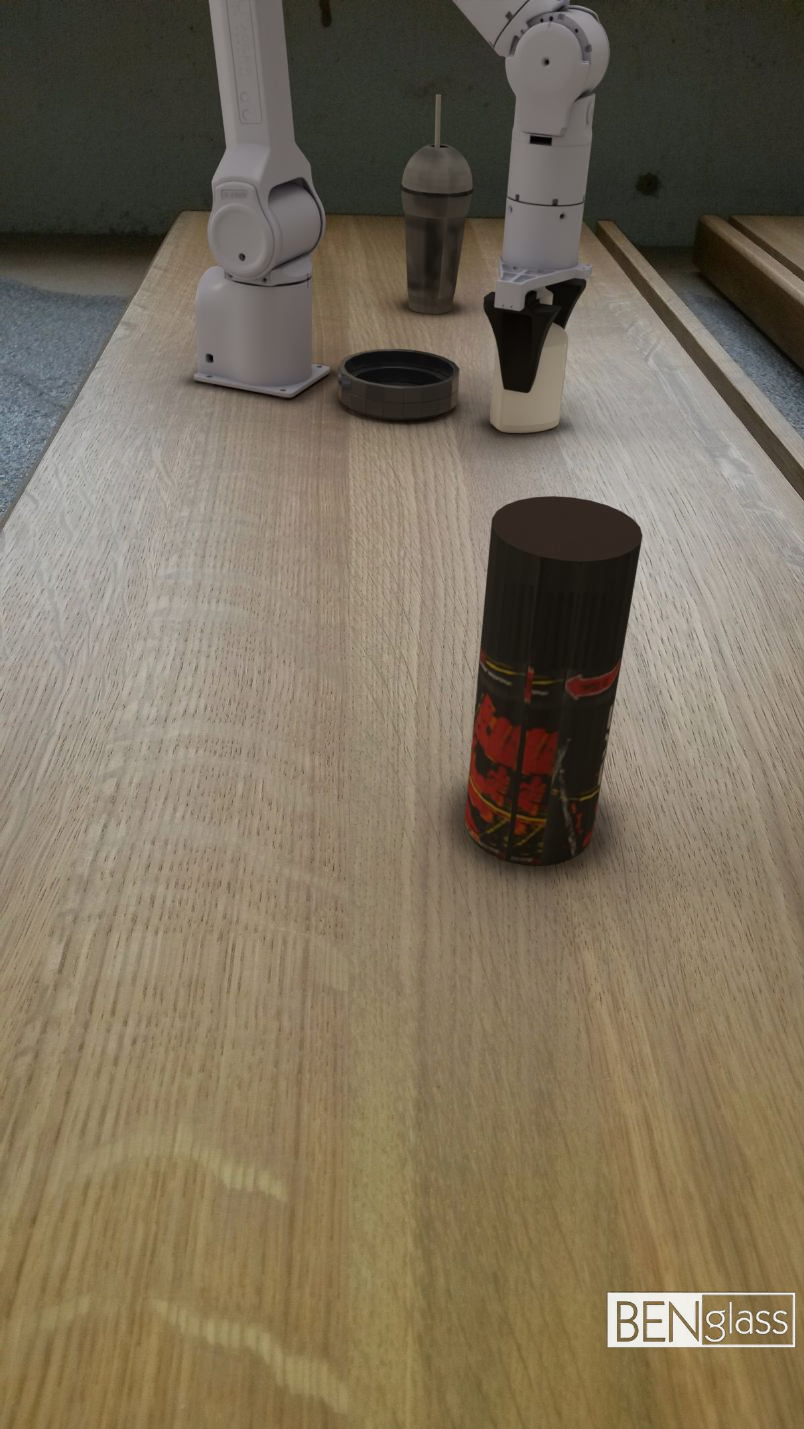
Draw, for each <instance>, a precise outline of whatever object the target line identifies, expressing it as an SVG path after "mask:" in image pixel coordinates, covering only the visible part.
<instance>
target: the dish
mask: <svg viewBox="0 0 804 1429" xmlns="http://www.w3.org/2000/svg"><path fill="white" fill-rule="evenodd" d="M460 373H461V369H460V367H459V366H458V365H457V363H456V362H454V361H452V360H451V359H449V358H447V357H445V356H442V355H438V354H435V353H432V352H429V351H428V352H427V351H422V350H416V349H405V348H377V349H370V350H369V349H368V350H362V351H359V352H355V353H351V354H349V355H347V356H346V357H344V358H343V359H340V361H339V364H338V366H337V396H338V398H339V400H340V402H341V404H343V405H344V406H346V407H348V408H350V409H351V410H352V411H354V412H356V413H357V414H360V415H363V416H365V417H369V418H372V419H376V420H377V419H378V420H385V421H391V422H392V421H395V422H413V421H423V420H428V419H432V418H433V419H434V418H435V417H438V416H440V415H442V414H444V413H446V412H448V411H451V410H452V409H453V408H454V407H456V406H457V404H458V399H459V390H460V389H459V387H460V375H461V374H460Z"/></svg>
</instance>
